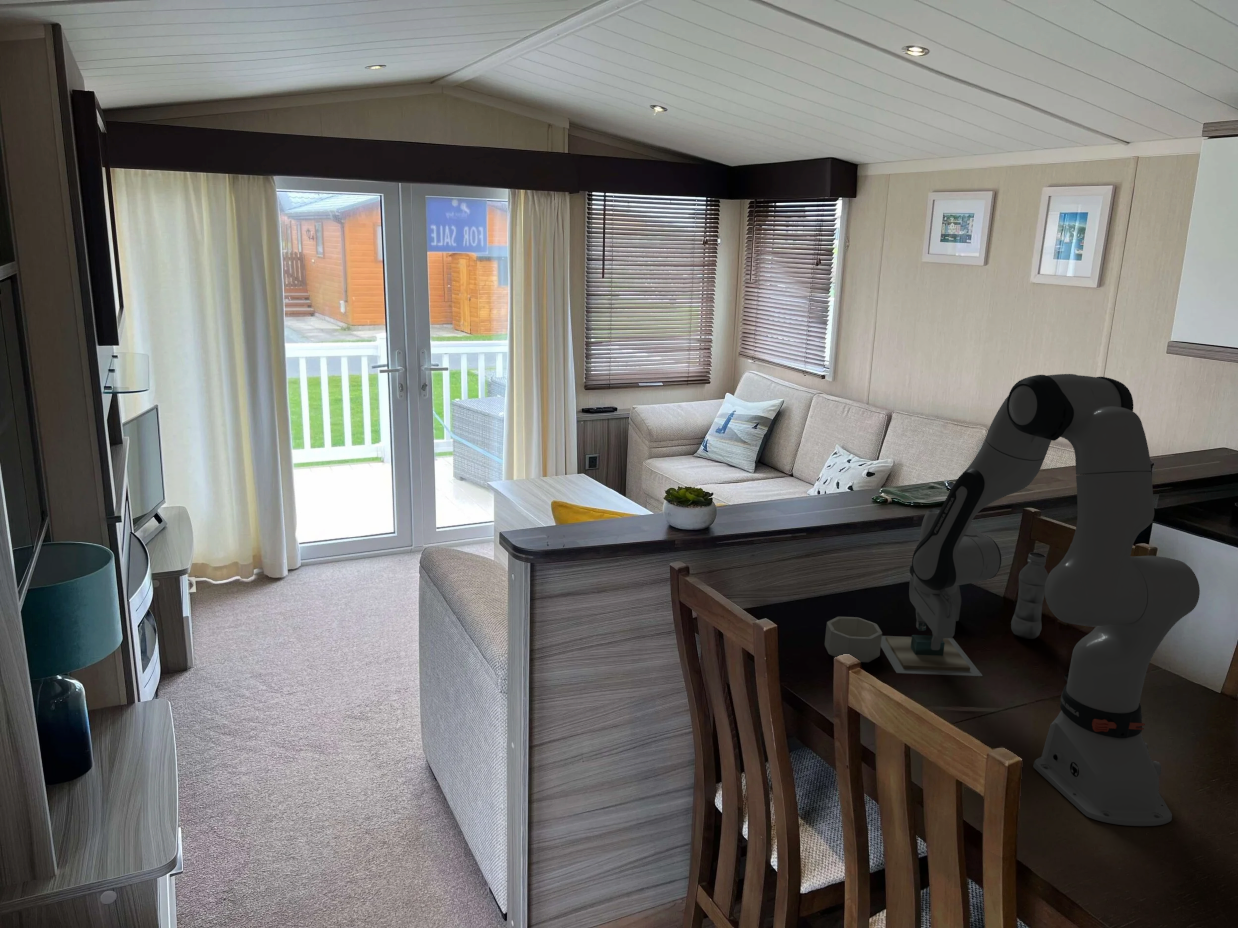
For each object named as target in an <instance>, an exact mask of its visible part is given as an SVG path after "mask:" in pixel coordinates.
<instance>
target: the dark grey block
mask: <svg viewBox="0 0 1238 928" xmlns="http://www.w3.org/2000/svg"><path fill="white" fill-rule="evenodd" d="M960 587H961V586H960V585H957V590H956V592H955V593H953V594H949V595H950V596H951V599H952V601H953V602H954V603H955V606H956V622H959V619H960V614H961V605H962V596H961V595H962V594H961V588H960Z"/></svg>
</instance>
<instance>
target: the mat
mask: <svg viewBox="0 0 1238 928" xmlns="http://www.w3.org/2000/svg"><path fill="white" fill-rule="evenodd" d="M886 636H887V637H901V636H898V635H897V636H895V635H894V636H893V635H882V639H881V648H880V649H882V651H883V653H884V655H885V657H886V658H887V659H888V662H889V663H890V664H891V666H892V668H893V670H894V671H895V673H896V674H908V675H909V674H911V675H912V674H913V675H916V674H917V675H937V676H938V675H940V676H941V675H943V676H965V677H966V676H967V677H968V676H969V677H983V674H982V673H981V672H980V670H979V669H978V668H977V667H976V665H975V664H974V663H973V662H972V660H971V659H970V658H969V657H968V655H967V654H966V653H965V652H964V650H963V649H962V647H961V646H960V645H959V644H958V642H957V641H956V640H955V639H954V638H953V637H952V638H944V639H948V640H949V641H950V642H951V643H952V645H953V646H954V647H955V649H956V650H957V651H958V652H959V654H960V655H961V656H962V658H963V659H964V660H965V661H966V663H967V664H968V665H969V667H970V671H952V670H925V669H903V667H902V666H901V664H900V662H899V661H898V659H897V658H896V656H895V654H894V653H893V651H892V650H891V648H890V646H889V645H888V643H887V642H886V640H885V639H886Z"/></svg>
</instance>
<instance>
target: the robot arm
mask: <svg viewBox="0 0 1238 928" xmlns="http://www.w3.org/2000/svg"><path fill="white" fill-rule="evenodd" d="M1059 438H1062V439H1065V440H1066V441H1068V442H1069V443H1070V444H1071V446H1072V448H1073V451H1074V457H1075V475H1076V476H1075V479H1076V480H1075V481H1076V482H1075V483H1076V499H1077V500H1076V502H1077V504H1076V505H1077V516H1076V517H1077V518H1076V527H1075V531H1074V534H1073V538H1072V541H1071V543H1070V546H1069V547H1068V550H1067V552H1066V554H1065V555H1064V557H1063V558H1062V559H1061V560H1060V562H1059V563H1058V564H1057V565H1056V566H1055V567H1054V568H1052V569H1051V570H1050V572H1049V573H1048V577H1047V579H1046V583H1045V595H1044V598H1045V601H1046V605H1047V607H1048V608H1049V610H1050V612H1051V613H1052V614H1053V616H1054V617H1056V619H1058V620H1059V621H1061V622H1062V623H1066V624H1071V625H1077V626H1082V627H1083V626H1085V627H1089V628H1090V627H1094V628H1093V629H1092V631H1090V632H1089V633H1088V634H1086V635H1085V636H1084V637H1082V638H1081V639H1080V640H1079V641H1078V642H1077V643H1076V644H1075V645H1074V648H1073V650H1072V652H1071V653H1072V654H1071V660H1070V665H1069V671H1068V674H1069V675H1068V681H1066V684H1065V685H1064V687H1063V690H1062V692H1061V694H1060V695H1061V696H1060V704H1059V707H1060V711H1059V713H1058V715H1057V717H1055V719H1054V720H1053V721H1052V722H1051V723H1050V725H1049V728H1048V732H1047V734H1046V739H1045V742H1044V747H1043V750H1042V753H1041V756H1039V757H1037V758H1036V759H1035V760H1034V762H1033V765H1032V766H1033V769H1034V770H1036V771H1037V772H1038V773H1039V774H1040V775H1041V776H1042V777H1043V778H1044V779H1045V780H1046V781H1047V782H1048V783H1049V784H1050V785H1052V786H1053V787H1054V788H1055V789H1056V790H1057V791H1058V792H1059V793H1061V794H1062V796H1064V797H1065V799H1067V800H1068V801H1069V802H1070V803H1071V804H1072V805H1073V806H1074V807H1076V808H1077V809H1078V810H1079V811H1080V812H1081V813H1082V814H1083V815H1084V816H1086V817H1087V818H1089V819H1092V820H1095V821H1099V822H1102V823H1107V824H1113V825H1118V826H1127V827H1130V826H1131V827H1155V826H1161V825H1165V824H1166V825H1167V824H1168V823H1170V822H1171V821H1172V820H1173V813H1172V811H1171V810H1170V809H1169V806H1168V805H1167V804H1166V802H1165V800H1164V798H1163V796H1161V793H1160V792H1159V791H1160V778H1159V777H1160V776H1161V773H1162V766H1161V762H1159V761H1158V760H1157V761H1156V760H1152V757H1151V755H1150V751H1149V745H1148V743H1147V742H1145V740H1144V738H1143V735H1142V731H1143V730H1145V728H1143V726H1146V723H1143V713H1142V706H1141V702H1140V701H1141V697H1142V692H1143V687H1144V683H1145V680H1146V675H1147V671H1148V668H1149V666H1150V664H1151V663H1150V662H1151V660H1152V659H1153V657H1154V654H1155V652H1156V651H1157V650H1158V647H1159V646H1160V644H1161V643H1162V641H1163V640H1164V638H1165V637H1166V635H1167V634H1168V633H1169V631H1171V629H1172V628H1174V626H1175V624H1177V623H1178V622H1179V621H1180V620H1181V619H1183V618H1184V617H1185V616H1187V615H1189V614H1190V613H1191V612H1192V611H1194V610H1195V608H1196V607H1197V605H1198V604H1199V603H1198V602H1199V600H1200V594H1201V593H1200V592H1201V591H1200V584H1199V580H1198V577H1197V575H1196V573H1195V571H1193V569H1192V568H1191V567H1190V566H1189V565H1188V564H1187V563H1185V562H1183V560H1182V561H1181V560H1179V559H1175V558H1174V559H1173V558H1169V557H1163V556H1157V555H1140V556H1139V555H1137V556H1136V555H1134V556H1132V555H1131V554H1132V551H1133V546H1134V545H1135V544H1134V543H1135V541H1136V539H1137V537H1138V536H1139V534H1141V532H1143V531H1144V530H1145V529H1147V527H1149V526H1150V525H1151V524H1152V522H1153V521H1154V517H1155V503H1154V490H1153V488H1154V487H1153V476H1152V475H1153V474H1152V466H1151V465H1152V464H1151V457H1150V450H1149V444H1148V441H1147V437H1146V433H1145V429H1144V426H1143V422H1142V420H1141V417H1140V416H1139V415H1138V414H1137V413H1136V412H1135V411H1134V399H1133V395H1132V393H1131V391H1130V389H1129V388H1128V386H1126V385H1125V384H1124V383H1123V382H1120V381H1119V380H1116V379H1113V378H1110V377H1107V376H1089V375H1078V374H1074V373H1060V374H1048V375H1046V374H1036V375H1032V376H1027V377H1025V378H1022V379H1019V380H1018V381H1017V382H1016V383H1015V384H1014V385H1013V386H1012V387H1011V389H1010V391H1009V393H1008V395H1007V397H1006V398H1005V399H1004V401H1003V402H1002V404H1001V405H1000V407H999V409H998V411H997V412H996V414H995V416H994V417H993V420H992V422H991V424H990V426H989V428H988V431H987V433H986V435H985V438H984V440H983V443H982V445H981V446H980V449H979V451H978V453H977V454H976V456H975V457H974V458H973V460H972V461H971V463H970V464H969V465H968V467H967V468H966V469H965V470H964V471H963V472H962V473H961V474H960V476H959V477H957V479H956V480H955V482H954V484H953V485H952V486H951V489H949V492H948V495H947V496H946V498H945V500H944V501H943V504H942V506H941V507H935V508H934V507H933V508H931V509H928V510H927V511H926V513H925V514H924V517H923V520H922V522H921V527H920V531H919V538H918V544H917V545H916V547H915V548H914V552H913V555H912V559H911V563H910V564H909V567H908V568H909V569H908V572H909V574H910V576H909V586H908V587H909V588H908V589H909V590H908V595H909V596H908V597H909V601H910V602H911V604H912V605H913V607H914V609H915V619H916V622H915V627H916V628H917V630H918V631H926V630H927V627H928V628H929V630H931V632H932V633H931V634H932V635H931V636H933V637H932V639H930V647H931V649H932V650H939V649H940V645H941V642H942V640H943V639H944V638H953V637H954V636H955V634H956V633H955V632H956V622H957V621H956V606H955V603H954V602H953V601H952V599H951V596H950V595H949V594H953V593H955V592H956V590H957V585H959V586H962V585H967V584H969V585H970V584H973V583H978V582H983V581H987V580H991V579H994V578H995V577H996V576H997V574H998V573H999V572H1000V570H1001V565H1002V552H1001V550H1000V547H999V544H998V543H997V542H996V541H995V540H994V539H993V538H992V537H990V536H988V535H986V534H983V533H982V532H981V531H980V530H978V529H977V528H976V527H975V526H974V525H973V524H972V522H973V520H974V518H975V517H976V516H977V514H979V512H981V510H983V509H984V508H985V507H987V506H988V505H991V504H992V503H994V502H996V501H999V500H1000V499H1002V498H1004V497H1007V496H1009V495H1010V496H1011V495H1012V494H1015V493H1017V492H1019V491H1021V490H1024V489H1025V488H1027V487H1028V486H1029V485H1030V484H1031V483H1032V482H1033V480H1034V479H1035V478H1036V476H1037V475H1038V474H1039V472H1040V470H1041V468H1042V467H1043V466H1042V465H1043V464H1044V460H1045V458H1046V456H1047V454H1048V451H1049V448H1050V445H1051V443H1052V441H1053V442H1055V441H1057V440H1058V439H1059Z"/></svg>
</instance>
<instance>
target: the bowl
mask: <svg viewBox="0 0 1238 928" xmlns="http://www.w3.org/2000/svg"><path fill="white" fill-rule="evenodd" d="M825 627H826V628H825V637H824V647H825V649H826V651H827V653H828V655H830V656H832V657H835V658H837V657H836V656H839V655H843V654H850V655H852V656H854V657H856V658H857V659H859V660H860V661H861V662H860V663H870V662H872V661H874V660H876V659H877V658H878V657H880V656H881V649H882V648H881V639H882V636H883V632H882V630H881V628H880V627H879V625H878V624H877V623H875V622H872V621H870V620H866V619H864V618H861V617H857V616H855V617H854V616H836V617H835V618H832V619H830V620H828V621H826V626H825Z"/></svg>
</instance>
